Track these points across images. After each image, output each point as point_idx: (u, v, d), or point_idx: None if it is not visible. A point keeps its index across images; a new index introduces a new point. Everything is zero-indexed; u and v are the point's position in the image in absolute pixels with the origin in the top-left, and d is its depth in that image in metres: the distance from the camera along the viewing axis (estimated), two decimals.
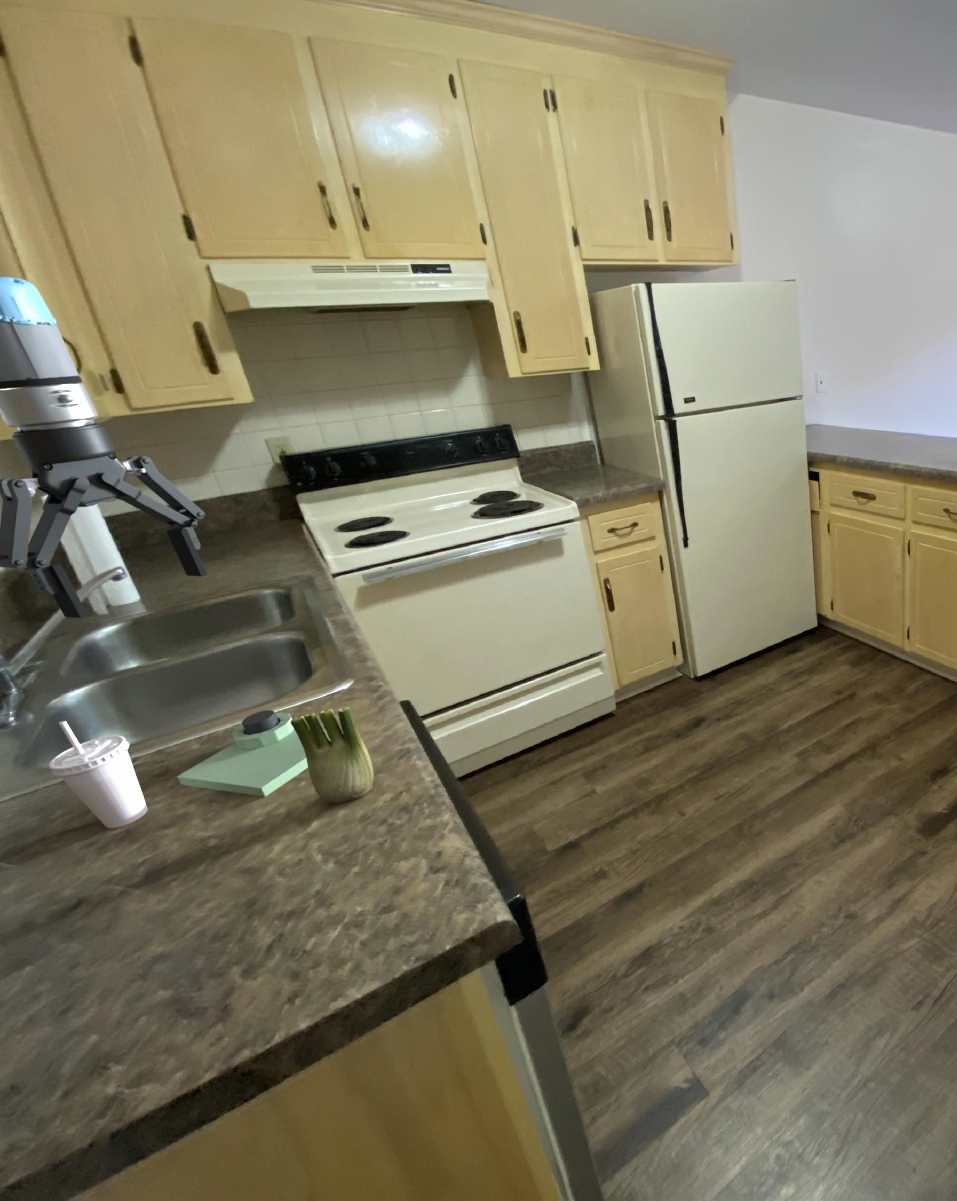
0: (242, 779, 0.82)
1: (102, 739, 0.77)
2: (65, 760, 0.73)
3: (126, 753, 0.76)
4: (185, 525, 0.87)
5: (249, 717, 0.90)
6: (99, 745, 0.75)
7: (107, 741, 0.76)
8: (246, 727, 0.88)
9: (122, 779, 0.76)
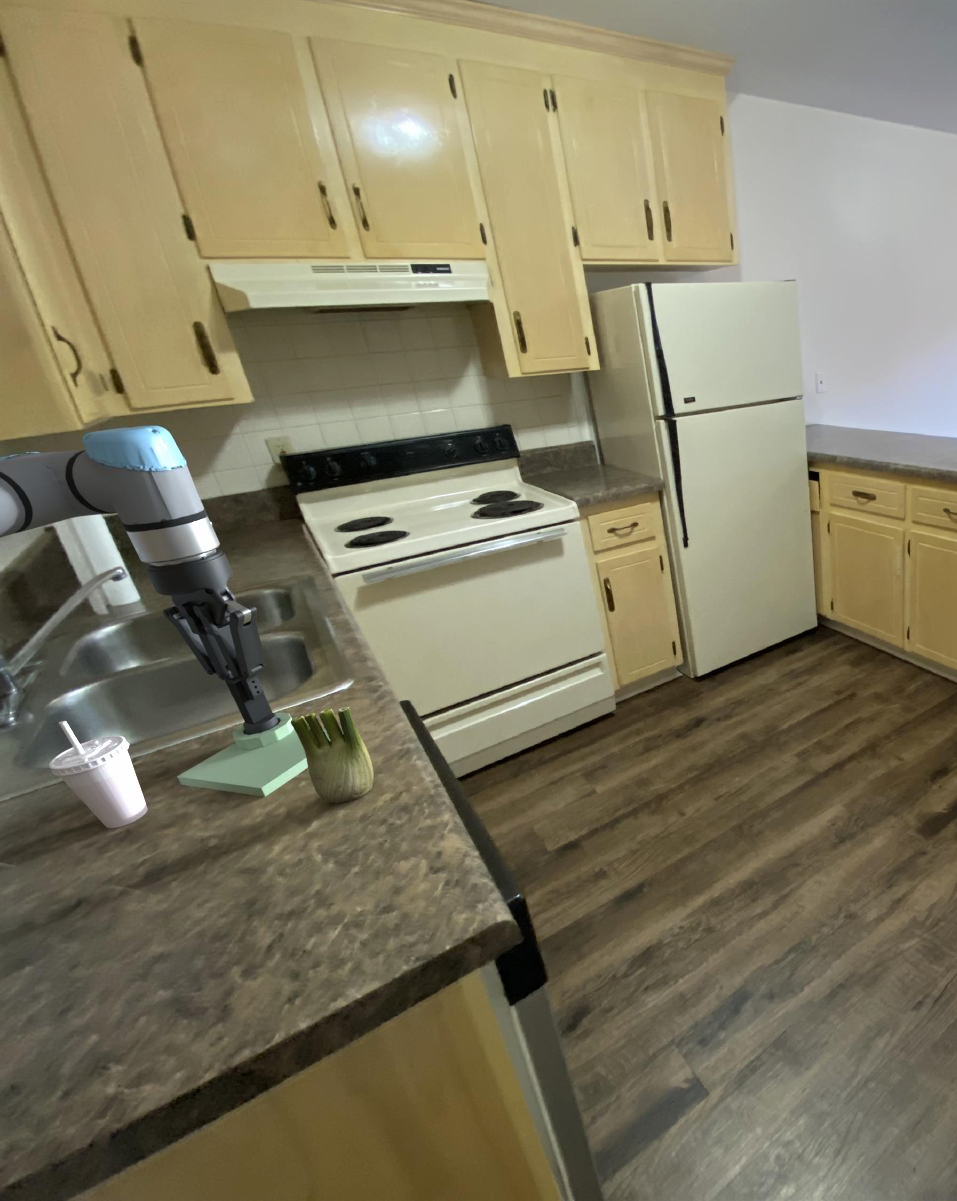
0: (242, 779, 0.82)
1: (102, 739, 0.77)
2: (65, 760, 0.73)
3: (126, 753, 0.76)
4: None
5: None
6: (99, 745, 0.75)
7: (107, 741, 0.76)
8: (247, 729, 0.88)
9: (122, 779, 0.76)
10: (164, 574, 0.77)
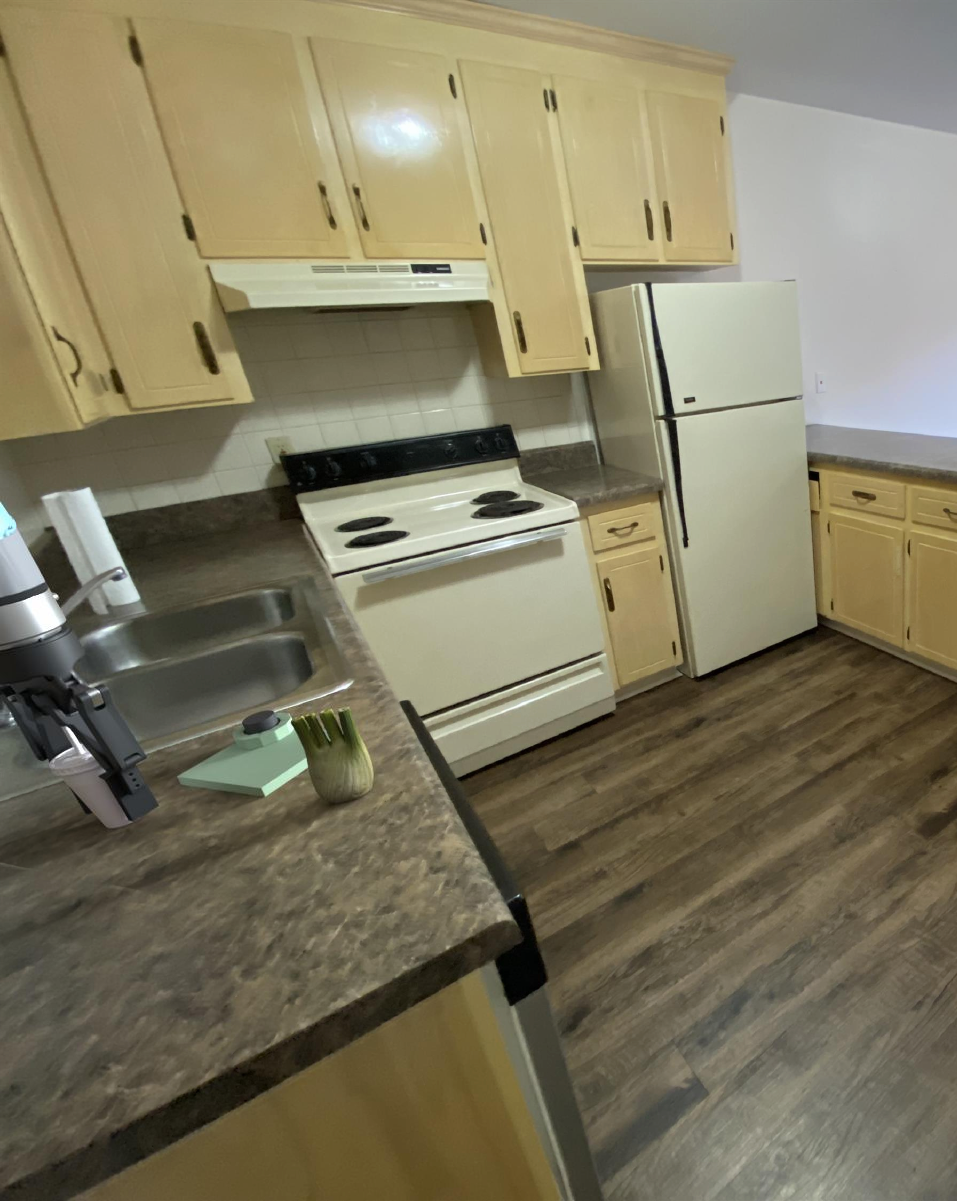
0: (242, 779, 0.82)
1: None
2: (65, 760, 0.73)
3: None
4: None
5: (249, 717, 0.90)
6: None
7: None
8: (246, 727, 0.88)
9: None
10: None
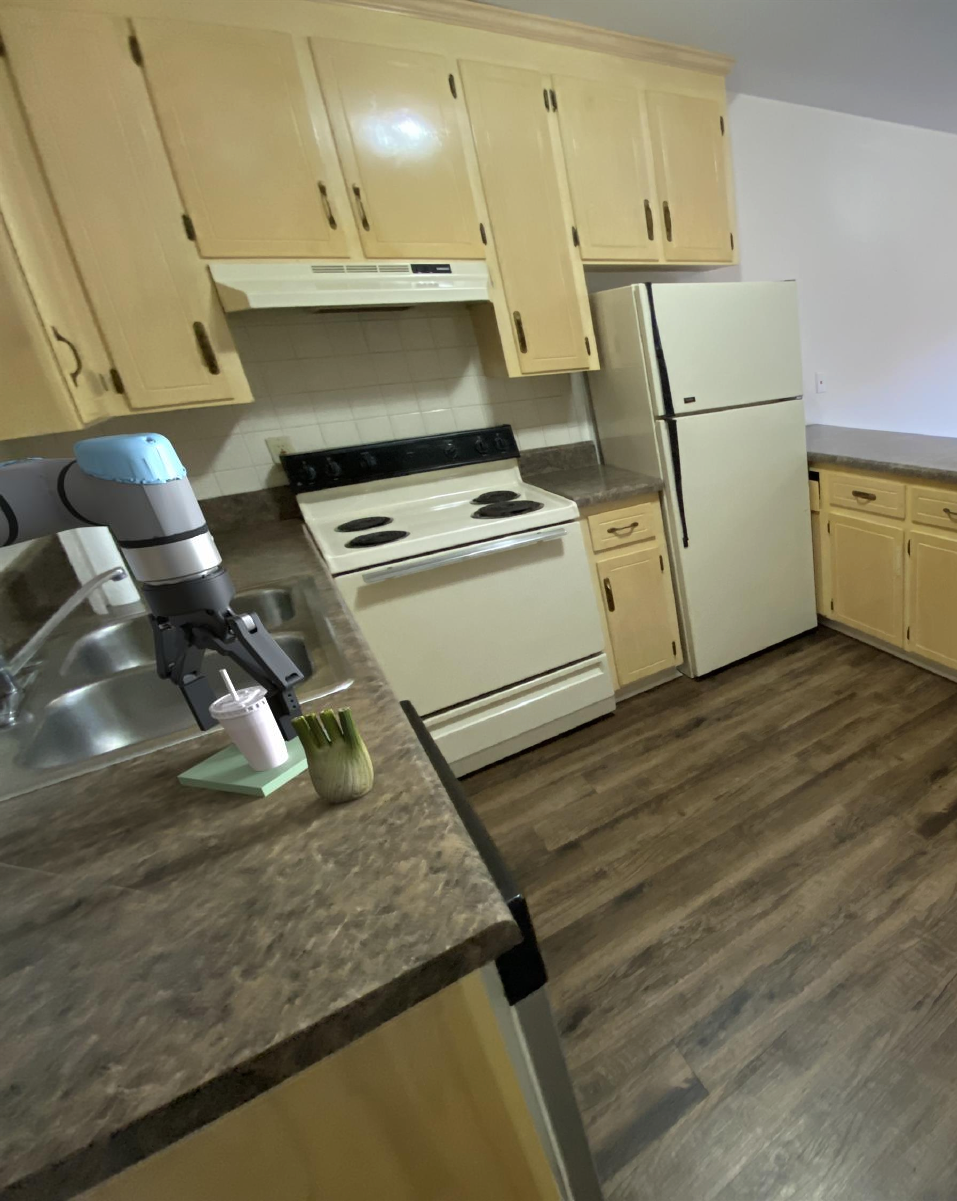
0: (242, 779, 0.82)
1: (250, 689, 0.83)
2: (224, 705, 0.79)
3: None
4: (198, 673, 0.83)
5: None
6: (250, 693, 0.82)
7: (256, 690, 0.82)
8: None
9: (270, 725, 0.82)
10: (161, 594, 0.71)
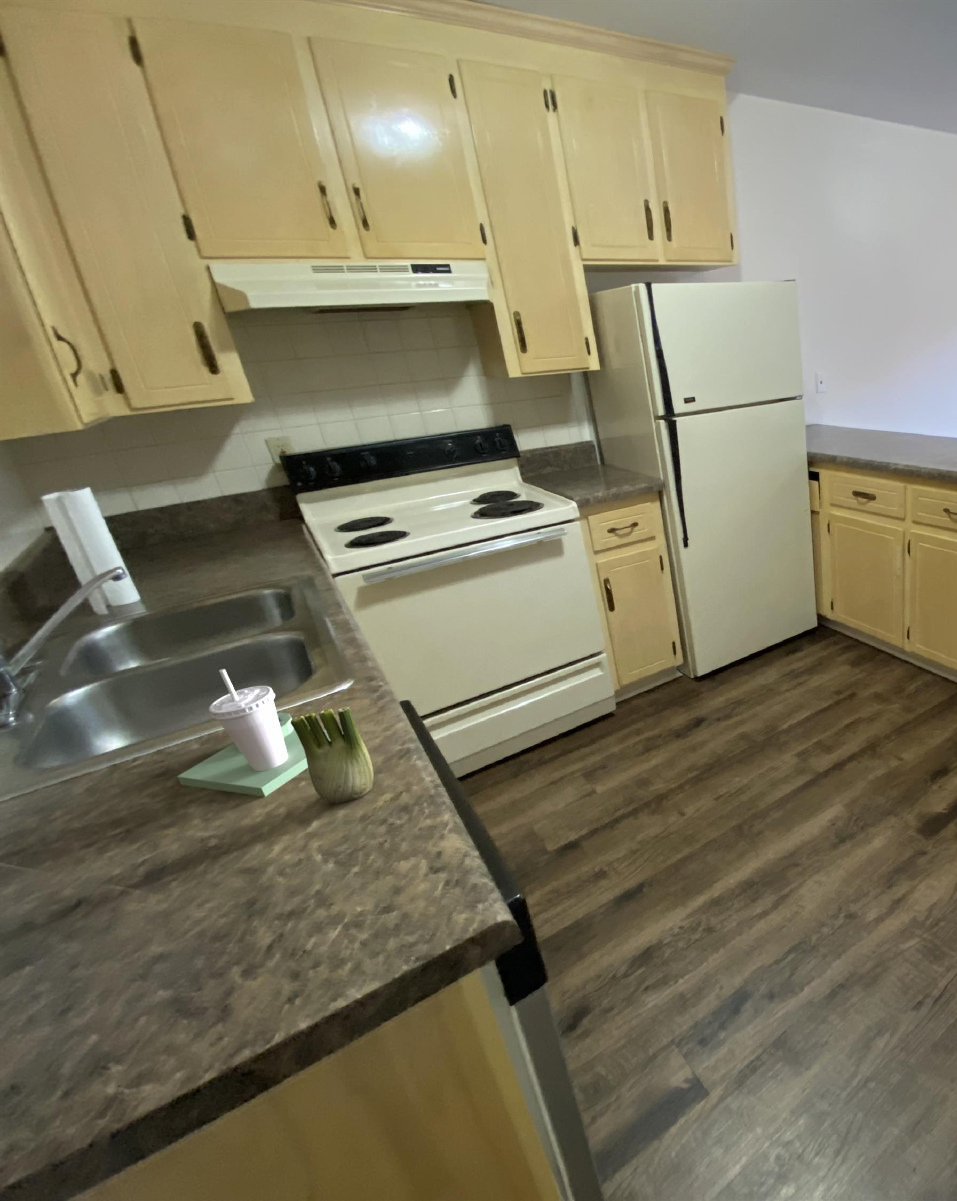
0: (242, 779, 0.82)
1: (250, 689, 0.83)
2: (224, 705, 0.79)
3: (273, 701, 0.83)
4: None
5: None
6: (250, 693, 0.82)
7: (256, 690, 0.82)
8: None
9: (270, 725, 0.82)
10: None
